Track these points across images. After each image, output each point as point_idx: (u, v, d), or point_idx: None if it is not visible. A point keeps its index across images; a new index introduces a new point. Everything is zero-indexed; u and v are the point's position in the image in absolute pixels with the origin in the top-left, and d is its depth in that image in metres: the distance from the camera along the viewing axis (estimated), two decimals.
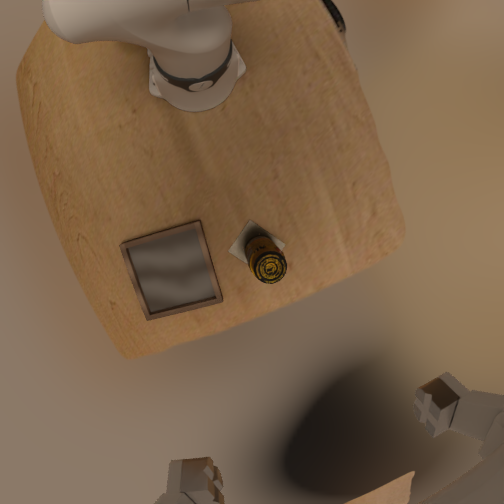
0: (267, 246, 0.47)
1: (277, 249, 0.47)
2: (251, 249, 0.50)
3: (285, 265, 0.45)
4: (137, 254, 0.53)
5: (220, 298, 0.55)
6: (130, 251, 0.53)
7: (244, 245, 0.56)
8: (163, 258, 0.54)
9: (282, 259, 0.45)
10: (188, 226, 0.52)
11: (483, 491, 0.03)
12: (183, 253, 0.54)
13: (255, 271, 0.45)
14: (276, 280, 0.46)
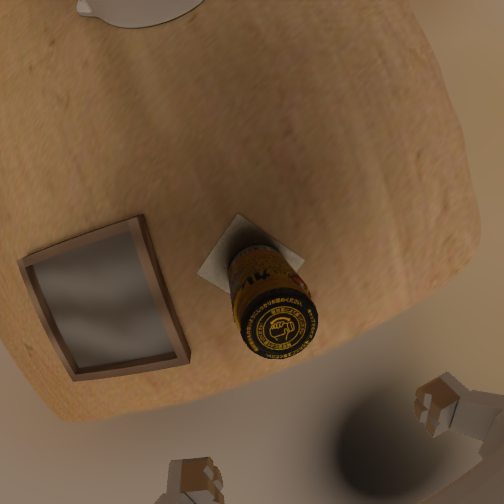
0: (273, 273, 0.20)
1: (295, 280, 0.21)
2: (238, 276, 0.23)
3: (315, 320, 0.19)
4: (46, 277, 0.26)
5: (184, 358, 0.29)
6: (36, 271, 0.26)
7: (227, 262, 0.29)
8: (84, 284, 0.27)
9: (309, 308, 0.18)
10: (117, 227, 0.25)
11: (483, 491, 0.03)
12: (115, 277, 0.27)
13: (244, 336, 0.18)
14: (293, 352, 0.19)
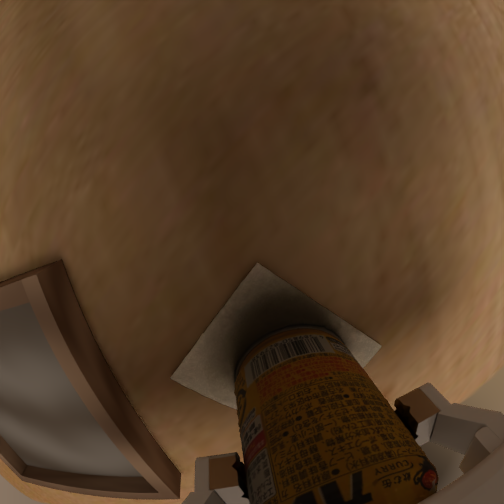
0: (381, 491, 0.04)
1: (427, 480, 0.05)
2: (267, 455, 0.07)
3: None
4: None
5: (170, 493, 0.13)
6: None
7: (232, 360, 0.13)
8: None
9: None
10: (8, 293, 0.09)
11: (483, 491, 0.03)
12: (35, 371, 0.12)
13: None
14: None
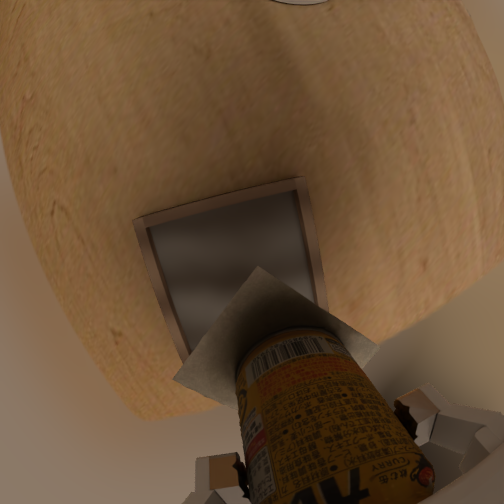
0: (378, 487, 0.05)
1: (423, 477, 0.05)
2: (267, 452, 0.07)
3: None
4: (168, 242, 0.27)
5: None
6: (154, 234, 0.27)
7: (233, 361, 0.14)
8: (223, 249, 0.28)
9: None
10: (283, 184, 0.25)
11: (483, 491, 0.03)
12: (264, 240, 0.28)
13: None
14: None
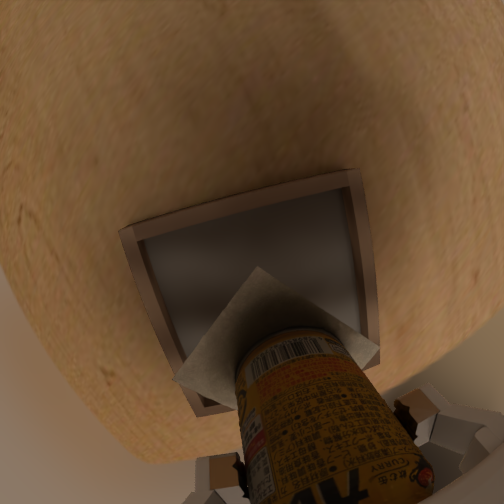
0: (377, 487, 0.05)
1: (423, 478, 0.05)
2: (266, 453, 0.07)
3: None
4: (171, 259, 0.19)
5: (377, 357, 0.22)
6: (150, 249, 0.19)
7: (233, 361, 0.14)
8: (247, 269, 0.20)
9: None
10: (332, 179, 0.18)
11: (483, 491, 0.03)
12: (303, 255, 0.20)
13: None
14: None
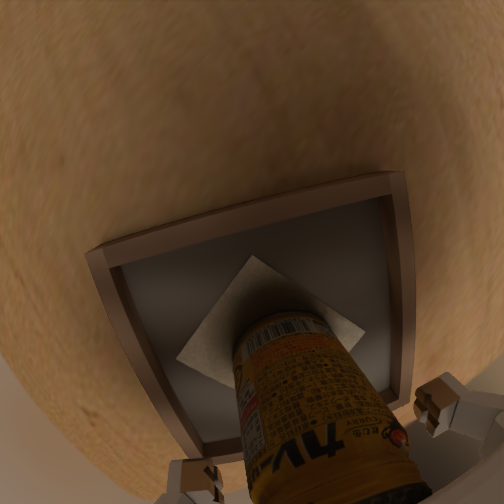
0: (352, 439, 0.07)
1: (395, 438, 0.07)
2: (258, 414, 0.09)
3: None
4: (156, 290, 0.14)
5: (407, 396, 0.17)
6: (129, 277, 0.14)
7: (231, 341, 0.15)
8: None
9: None
10: (371, 184, 0.13)
11: (483, 491, 0.03)
12: (329, 282, 0.15)
13: None
14: None
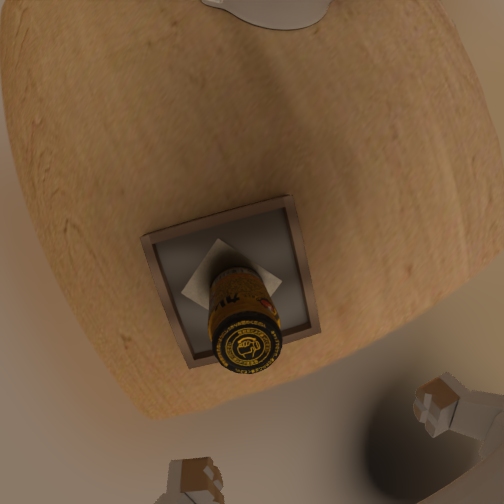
0: (242, 297, 0.22)
1: (263, 303, 0.23)
2: (214, 298, 0.25)
3: (279, 340, 0.21)
4: (172, 256, 0.30)
5: (318, 327, 0.32)
6: (159, 249, 0.30)
7: (209, 283, 0.31)
8: None
9: (273, 329, 0.20)
10: (273, 203, 0.29)
11: (483, 491, 0.03)
12: (258, 252, 0.31)
13: (215, 352, 0.20)
14: (260, 368, 0.21)
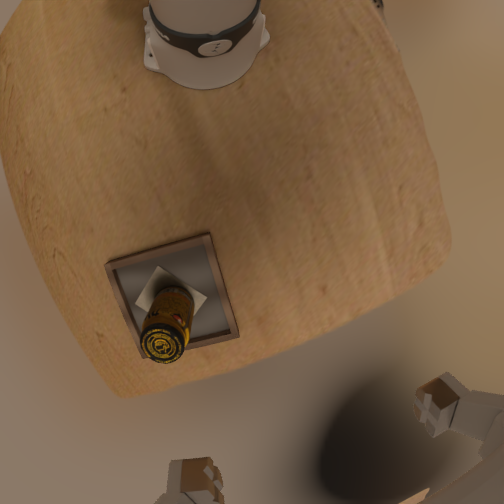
0: (161, 313, 0.32)
1: (175, 317, 0.33)
2: (148, 311, 0.35)
3: (181, 343, 0.31)
4: (127, 277, 0.40)
5: (236, 333, 0.42)
6: (118, 272, 0.40)
7: (154, 297, 0.41)
8: None
9: (175, 335, 0.30)
10: (194, 241, 0.39)
11: (483, 491, 0.03)
12: (187, 276, 0.41)
13: (141, 348, 0.30)
14: (171, 360, 0.31)
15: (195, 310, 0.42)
